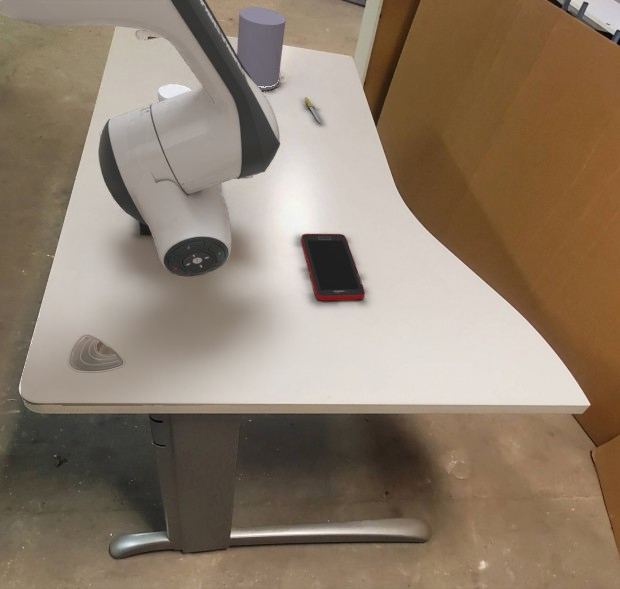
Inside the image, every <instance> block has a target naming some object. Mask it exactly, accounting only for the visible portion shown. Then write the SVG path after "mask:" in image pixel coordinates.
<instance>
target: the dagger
mask: <svg viewBox="0 0 620 589" xmlns="http://www.w3.org/2000/svg"><path fill="white" fill-rule="evenodd" d="M304 101H305V104H306V105H307V106H306V108H308V109H309V110H310V111H311V113H312V114H313V116H314V117H315V119H316V121H317V122H318V123H319V124H320V123H321V121H320V118H319V117H318V115H317V113H316V110H315V109H316V107H314V106H313V105H312V103H311V101H310V99H309V98H308V97H307V96H306V97H304Z"/></svg>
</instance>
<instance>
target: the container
mask: <svg viewBox="0 0 620 589" xmlns="http://www.w3.org/2000/svg"><path fill="white" fill-rule="evenodd" d="M286 20H287V18H286V17H285V16H284V15H283V13H280V12H279V11H277V10H273V9H270V8H265V7H259V6H258V7H257V6H255V7H254V6H252V7H249V6H248V7H244V8H241V9H240V10H239V15H238V29H237V30H238V31H237V48H236V54H237V56H238V58H239V59H240V61H241V63H242V64H243V66H244V67H245V69H246V70H247V72H248V73H249V75H250V77H251V78H252V80H253V81H254V83H255V84H256V85H257V86H264V87H265V86H272V85H274V84H276V83H277V82H278V83H277V84H276V85H275V86H272V87H266V88H261V87H259V89H260V90H261V91H262V92H266V91H272V90H273V89H275V88H277V87H278V86H279V81H278V80H279V79H280V71H281V63H282V55H283V48H284V47H283V46H284V38H285V37H284V36H285V29H286V22H287V21H286Z"/></svg>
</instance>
